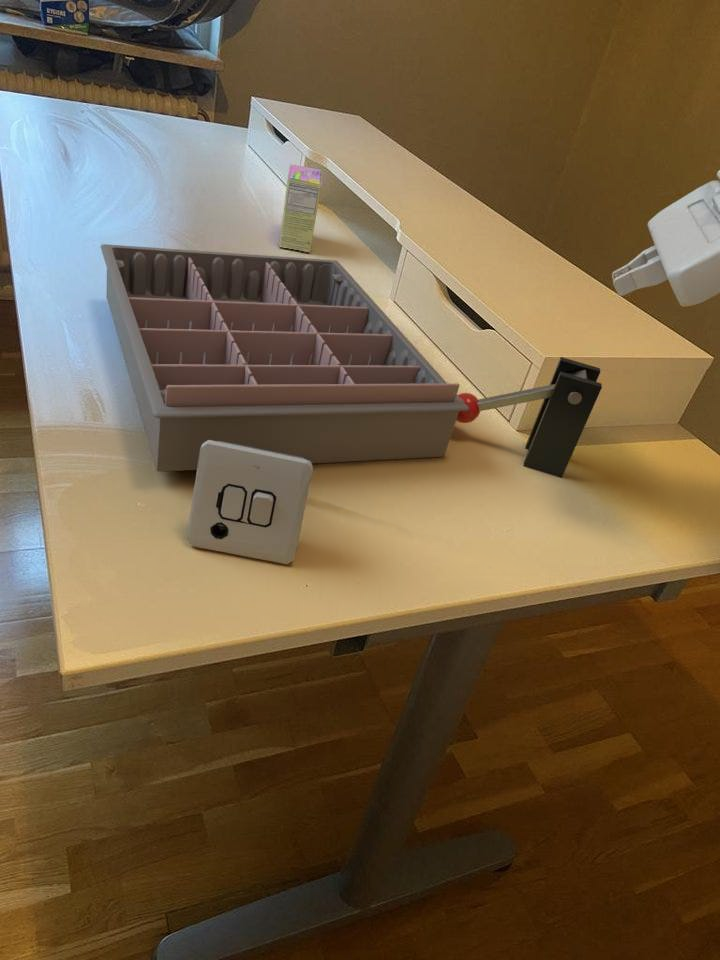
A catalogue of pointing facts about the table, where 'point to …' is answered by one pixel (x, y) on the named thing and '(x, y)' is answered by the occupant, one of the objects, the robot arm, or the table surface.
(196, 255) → the organizer tray
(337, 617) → the table surface
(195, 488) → the electrical switch
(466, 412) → the switch lever
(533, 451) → the switch bracket
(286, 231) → the box
